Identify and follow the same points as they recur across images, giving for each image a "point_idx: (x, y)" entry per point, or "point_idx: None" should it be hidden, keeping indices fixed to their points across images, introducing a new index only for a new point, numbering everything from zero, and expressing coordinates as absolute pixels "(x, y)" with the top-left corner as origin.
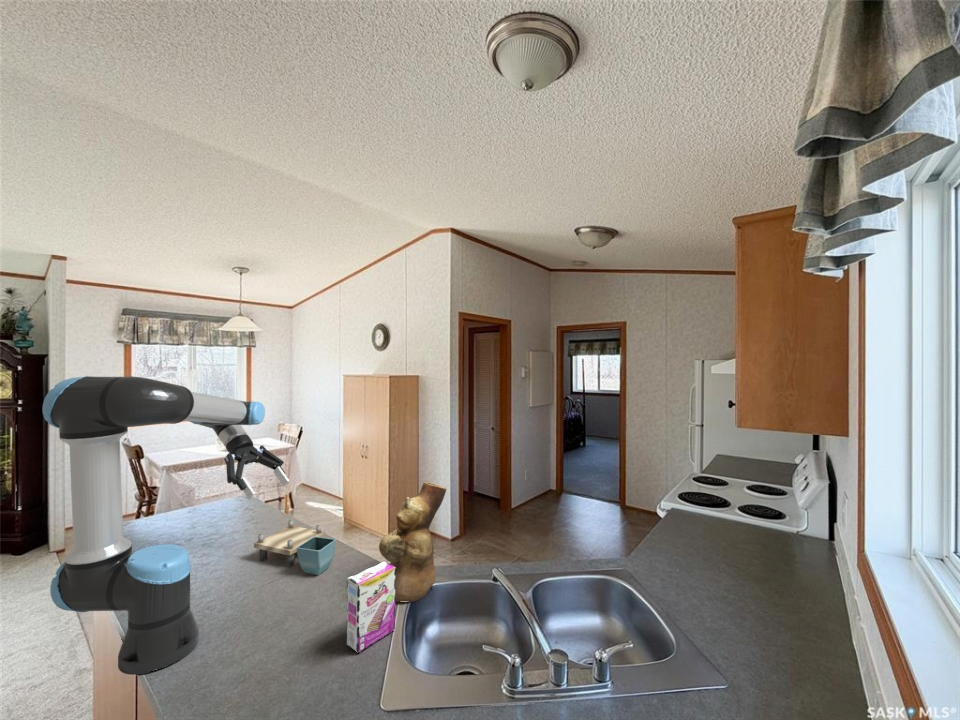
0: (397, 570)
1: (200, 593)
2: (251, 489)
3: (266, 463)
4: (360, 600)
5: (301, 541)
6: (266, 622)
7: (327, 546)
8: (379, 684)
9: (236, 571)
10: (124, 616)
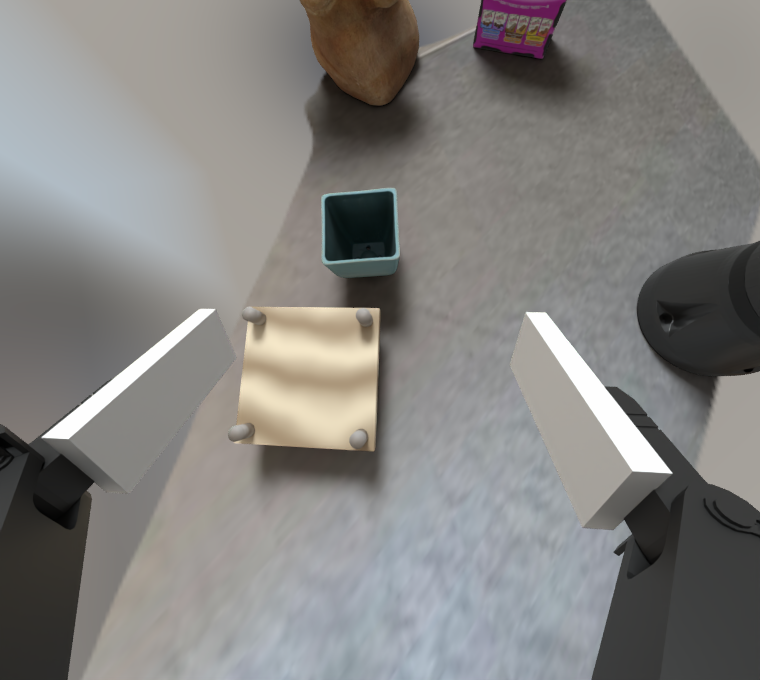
0: (393, 12)
1: None
2: (553, 336)
3: (25, 649)
4: None
5: (322, 322)
6: (552, 212)
7: (360, 192)
8: None
9: (435, 438)
10: None
